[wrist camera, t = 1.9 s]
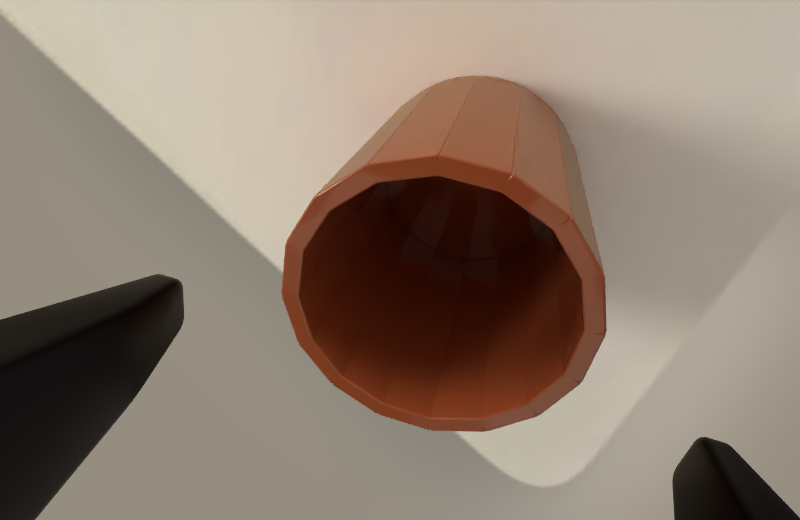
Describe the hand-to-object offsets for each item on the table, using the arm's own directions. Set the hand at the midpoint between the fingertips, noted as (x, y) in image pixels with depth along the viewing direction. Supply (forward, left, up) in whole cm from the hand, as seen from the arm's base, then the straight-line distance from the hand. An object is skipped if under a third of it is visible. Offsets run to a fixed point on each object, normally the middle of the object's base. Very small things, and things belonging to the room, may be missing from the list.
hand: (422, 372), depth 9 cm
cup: (0, 0, -10) cm, 10 cm away
